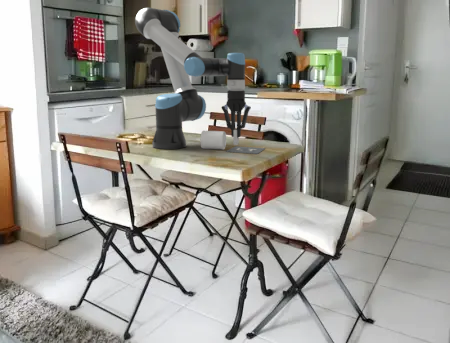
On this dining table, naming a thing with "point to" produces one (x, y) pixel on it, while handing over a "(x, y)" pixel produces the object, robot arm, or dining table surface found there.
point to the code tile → (245, 150)
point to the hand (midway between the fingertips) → (236, 144)
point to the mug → (213, 140)
